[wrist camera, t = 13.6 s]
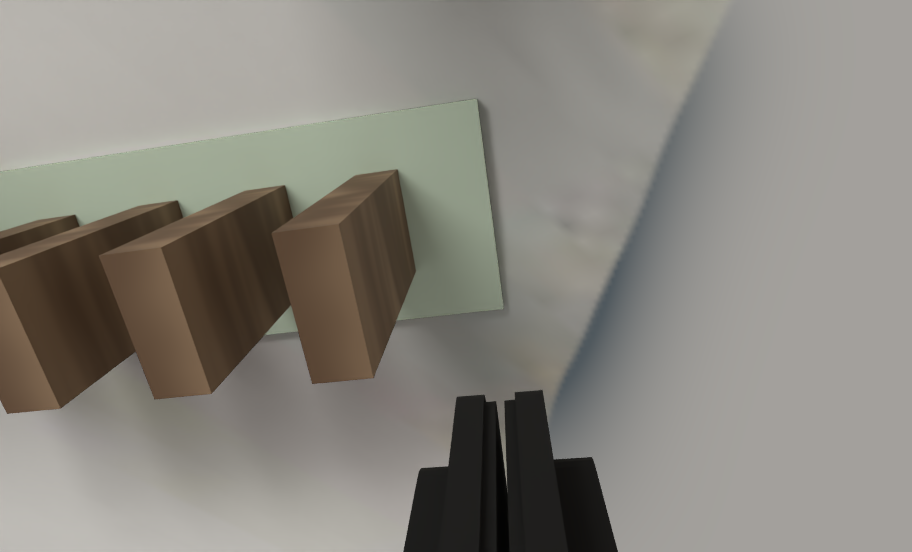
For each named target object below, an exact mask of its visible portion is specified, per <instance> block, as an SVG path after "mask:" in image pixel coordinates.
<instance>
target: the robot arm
mask: <svg viewBox="0 0 912 552" xmlns="http://www.w3.org/2000/svg"><path fill="white" fill-rule="evenodd" d="M504 402H505V432H506V461H507V485H506V477H505V469H504V461H503V452H502V444H501V436H500V428H499V420H498V412H497V405H496V401H494V402H486V399H485V395H475V396H462V397H457V399H456V406H455V415H454V423H453V432H452V441H451V449H450V458H449V466H448V467H432V468H421V469H420V471H419V474H418V478H417V484H416V489H415V494H414V499H413V504H412V510H411V515H410V520H409V525H408V531H407V536H406V541H405V546H404V551H403V552H618V550H617V547H616V543H615V539H614V536H613V532H612V528H611V524H610V521H609V517H608V513H607V509H606V505H605V502H604V498H603V494H602V490H601V486H600V483H599V479H598V475H597V471H596V468H595V464H594V461H593V459H592V457H587V458H571V459H556V460H554V459H553V453H552V447H551V441H550V434H549V428H548V422H547V416H546V409H545V403H544V397H543V391H542V390H539V391H526V392H515V400H507V401H504ZM507 489H508V493H507Z"/></svg>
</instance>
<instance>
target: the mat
mask: <svg viewBox="0 0 912 552" xmlns="http://www.w3.org/2000/svg"><path fill="white" fill-rule="evenodd" d="M395 169H398V174H399V180H400V185H401V191H402V196H403V202H404V207H405V213H406V218H407V224H408V229H409V235H410V240H411V246H412V251H413V257H414V262H415V268H416V273H415V275H414V278H413V280H412V283H411V285H410V288H409V290H408V293H407V295H406V298H405V300H404V303H403V305H402V308H401V310H400V313H399V315H398V318H397V320H396V321H398V320H407V319H416V318H425V317H434V316H444V315H453V314H462V313H471V312H480V311H489V310H499V309H504V306H503V298H502V290H501V282H500V274H499V266H498V259H497V251H496V243H495V235H494V227H493V219H492V212H491V204H490V196H489V188H488V180H487V172H486V164H485V157H484V149H483V141H482V133H481V125H480V117H479V110H478V102H477V99H472V100H465V101H459V102H452V103H446V104H439V105H432V106H426V107H419V108H413V109H406V110H400V111H393V112H387V113H380V114H374V115H367V116H361V117H354V118H348V119H341V120H335V121H328V122H322V123H315V124H309V125H302V126H296V127H289V128H283V129H276V130H269V131H263V132H256V133H250V134H243V135H237V136H230V137H224V138H217V139H211V140H204V141H198V142H191V143H185V144H178V145H172V146H165V147H159V148H152V149H146V150H139V151H133V152H126V153H119V154H113V155H106V156H100V157H93V158H87V159H80V160H74V161H67V162H61V163H54V164H48V165H41V166H35V167H28V168H22V169H15V170H9V171H2V172H0V231H3V230H7V229H10V228H13V227H16V226H20V225H23V224H26V223H30V222H33V221H36V220H40V219H48V218H55V217H62V216H69V215H75V216H76V219H77V221H78V224H79V226H83V225H86V224H89V223H91V222H94V221H97V220H100V219H103V218H105V217H108V216H111V215H114V214H117V213H120V212H122V211H125V210H128V209H131V208H134V207H136V206H140V205H147V204H154V203H161V202H168V201H175V200H178V203H179V206H180V209H181V212H182V216H183V218H184V217H187V216H189V215H191V214H193V213H196V212H198V211H200V210H202V209H205V208H207V207H209V206H211V205H214V204H216V203H218V202H220V201H223V200H225V199H227V198H229V197H232V196H234V195H236V194H238V193H241V192H243V191H246V190H253V189H260V188H267V187H274V186H281V185H285V187H286V191H287V195H288V199H289V203H290V207H291V211H292V215H293V218H294V217H295V216H297V215H298V214H300V213H301V212H303V211H304V210H305V209H307V208H308V207H310V206H311V205H313V204H314V203H316V202H317V201H318V200H320V199H321V198H323V197H324V196H326V195H327V194H329V193H330V192H332V191H333V190H334V189H336V188H337V187H339V186H340V185H342V184H343V183H345V182H346V181H347V180H349V179H350V178H352V177H353V176H355V175H359V174H366V173H373V172H381V171H388V170H395ZM297 331H298V329H297V326H296V322H295V318H294V315H293V311H292V307H291V306H290V307H289V308H288V309H287V310H286V311H285V312H284V314H283V315H282V316H281V317H280V318H279V319H278V320H277V321H276V322H275V324H274V325H273V326H272V327H271V328H270V329H269V330H268V331H267V333H266V334H265V335H270V334H279V333H288V332H297Z"/></svg>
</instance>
